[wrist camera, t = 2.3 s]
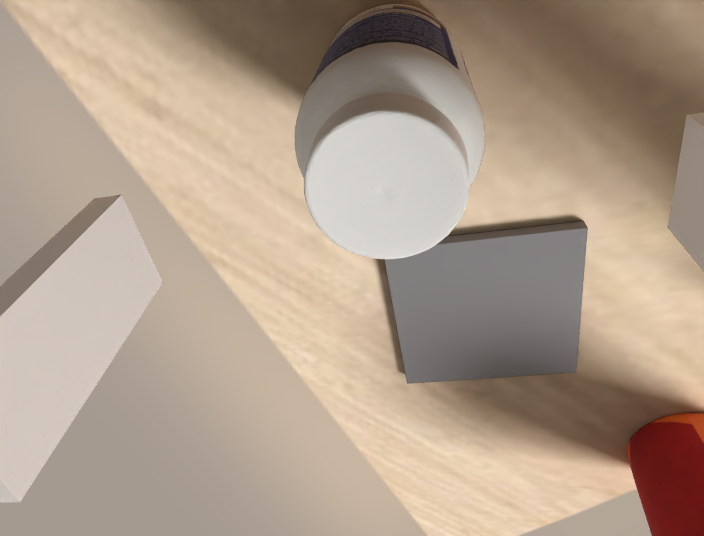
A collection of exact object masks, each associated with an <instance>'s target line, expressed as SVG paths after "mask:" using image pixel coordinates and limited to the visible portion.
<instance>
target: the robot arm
mask: <svg viewBox="0 0 704 536" xmlns="http://www.w3.org/2000/svg"><path fill="white" fill-rule="evenodd" d="M668 229H669V230H670V231H671V232H672V233H673V235H674V236H675V237H676V238H677V240H678V241H679V242H680V243H681V244H682V246H683V247H684V248H685V249H686V250H687V252H688V253H689V254H690V255H691V257H692V258H693V259H694V260H695V261H696V263H697V264H698V265H699V266H700V267H701V269H702V270H703V271H704V112H701V113H694V114H687V116H686V122H685V128H684V134H683V140H682V145H681V151H680V157H679V163H678V169H677V175H676V181H675V187H674V193H673V199H672V205H671V211H670V217H669V223H668ZM162 283H163V282H162V280H161V278H160V276H159V273H158V271H157V269H156V267H155V265H154V263H153V261H152V259H151V257H150V255H149V252H148V250H147V248H146V246H145V244H144V242H143V240H142V237H141V235H140V233H139V231H138V229H137V227H136V225H135V223H134V221H133V218H132V216H131V214H130V212H129V210H128V208H127V206H126V204H125V201H124V199H123V197H122V195H116V196H110V197H102V198H95V199H94V200H92V201H91V202H90V203H89V204H88V205H87V206H86V207H85V208H84V209H83V210H82V211H81V212H79V213H78V214H77V215H76V216H75V217H74V218H73V219H72V220H71V221H70V222H69V223H68V224H67V225H65V226H64V227H63V228H62V229H61V230H60V231H59V232H58V233H57V234H56V235H55V236H54V237H53V238H51V240H49V242H47V243H46V244H45V245H44V246H43V247H42V248H41V249H40V250H39V251H38V252H36V253H35V254H34V255H33V256H32V257H31V258H30V259H29V260H28V261H27V262H26V263H25V264H24V265H23V266H21V267H20V268H19V269H18V270H17V271H16V272H15V273H14V274H13V275H12V276H11V277H10V278H9V279H7V280H6V281H5V283H3V284H2V285H1V286H0V502H1V503H2V502H20V501H21V500H22V498H23V497H24V495H25V494H26V492H27V490H28V489H29V487H30V485H31V484H32V483H33V481H34V480H35V478H36V476H37V475H38V473H39V472H40V471H41V469H42V467H43V466H44V464H45V462H46V461H47V460H48V458H49V457H50V455H51V453H52V452H53V450H54V449H55V447H56V446H57V444H58V443H59V441H60V440H61V438H62V437H63V435H64V434H65V432H66V431H67V429H68V427H69V426H70V424H71V423H72V421H73V420H74V418H75V417H76V415H77V414H78V412H79V411H80V409H81V407H82V406H83V404H84V403H85V401H86V400H87V398H88V397H89V395H90V394H91V392H92V391H93V389H94V387H95V386H96V384H97V383H98V381H99V380H100V378H101V377H102V375H103V374H104V372H105V371H106V369H107V367H108V366H109V364H110V363H111V361H112V360H113V358H114V357H115V355H116V354H117V352H118V351H119V349H120V347H121V346H122V344H123V343H124V341H125V340H126V338H127V337H128V335H129V334H130V332H131V331H132V329H133V327H134V326H135V324H136V323H137V321H138V320H139V318H140V317H141V315H142V314H143V312H144V310H145V309H146V307H147V306H148V304H149V303H150V301H151V300H152V298H153V297H154V295H155V293H156V292H157V291H158V289H159V287H160V286H161V284H162Z"/></svg>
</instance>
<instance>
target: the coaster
mask: <svg viewBox="0 0 704 536" xmlns="http://www.w3.org/2000/svg"><path fill="white" fill-rule="evenodd" d="M587 229H588V228H587V226H586V224H585V222H584V221H579V222H570V223H561V224H552V225H543V226H535V227H526V228H517V229H508V230H499V231H490V232H482V233H473V234H464V235H455V236H446V237H445V238H444V239H443V240H442V241H440V242H439V243H438V244H436V245H435V246H433V247H432V248H430V249H428V250H426V251H424V252H421V253H418V254H416V255H413V256H409V257H405V258H398V259H384V260H385V265H386V271H387V276H388V282H389V287H390V293H391V298H392V304H393V309H394V315H395V320H396V325H397V331H398V336H399V342H400V347H401V353H402V358H403V364H404V369H405V375H406V380H407V384H408V383H423V382H438V381H453V380H468V379H484V378H499V377H514V376H529V375H544V374H559V373H574V372H576V369H577V356H578V343H579V330H580V318H581V305H582V292H583V280H584V267H585V254H586V241H587Z"/></svg>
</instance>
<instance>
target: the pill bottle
mask: <svg viewBox="0 0 704 536" xmlns="http://www.w3.org/2000/svg"><path fill="white" fill-rule="evenodd" d="M484 146H485V128H484V121H483V113H482V109H481V106H480V103H479V101H478V99H477V96H476V94H475V91H474V88H473V85H472V82H471V80H470V77H469V75H468V72H467V69H466V66H465V63H464V60H463V57H462V54H461V51H460V49H459V48H458V46H457V44H456V42H455V41H454V39H453V37H452V36H451V34H450V33H449V31H448V30H447V29H446V27H445V26H444V25H443V24H442V23H441V22H440V21H439V20H437V19H436V18H435V17H434V16H433V15H431V14H429V13H428V12H426V11H424V10H422V9H420V8H417V7H414V6H410V5H405V4H386V5H380V6H377V7H373V8H370V9H368V10H366V11H363V12H362V13H360V14H358V15H357V16H355V17H354V18H352V19H351V20H350V21H348V22H347V23H346V24H345V25H344V26H343V27H342V29H341V30H340V31H339V32H338V33H337V35H336V36H335V38H334V39H333V41H332V42H331V44H330V46H329V48H328V50H327V52H326V54H325V56H324V58H323V60H322V62H321V65H320V67H319V69H318V71H317V73H316V75H315V77H314V79H313V81H312V83H311V85H310V87H309V88H308V90H307V92H306V94H305V96H304V98H303V101H302V104H301V106H300V110H299V113H298V117H297V121H296V126H295V151H296V157H297V161H298V165H299V168H300V170H301V173H302V175H303V177H304V194H305V199H306V203H307V206H308V208H309V211H310V213H311V215H312V217H313V219H314V221H315V222H316V224H317V225H318V227H319V228H320V229H321V230H322V231H323V233H324V234H325V235H326V236H327V237H328V238H330V239H331V240H332V241H333V242H334V243H336V244H337V245H339V246H341V247H342V248H344V249H346V250H348V251H350V252H352V253H355V254H358V255H361V256H365V257H370V258H376V259H398V258H405V257H409V256H413V255H416V254H418V253H421V252H424V251H426V250H428V249H430V248H432V247H433V246H435V245H436V244H438V243H439V242H440V241H442V240H443V239H444V238H445V237H446V236H447V235H448V234H449V233H450V232H451V231H452V230H453V229H454V227H455V226H456V225H457V223H458V222H459V220H460V218H461V217H462V215H463V213H464V210H465V208H466V205H467V201H468V196H469V187H470V186H471V184H472V183H473V181H474V179H475V177H476V175H477V173H478V170H479V167H480V165H481V161H482V157H483V153H484Z"/></svg>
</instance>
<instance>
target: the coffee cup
mask: <svg viewBox="0 0 704 536" xmlns="http://www.w3.org/2000/svg"><path fill="white" fill-rule="evenodd" d="M627 454H628V459H629V463H630V467H631V470H632V473H633V477H634V480H635V483H636V487H637V490H638V493H639V496H640V499H641V503H642V505H643V509H644V512H645V515H646V518H647V522H648V525H649V528H650V531H651V534H652V536H704V413H680V414H674V415H669V416H666V417H662V418H660V419H657V420H655V421H652V422H650V423H648V424H647V425H645V426H643V427H642V428H641V429H639V430H638V431H637V432H636V433H635V434H634V435H633V436H632V437H631V439H630V441H629V443H628V446H627Z"/></svg>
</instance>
